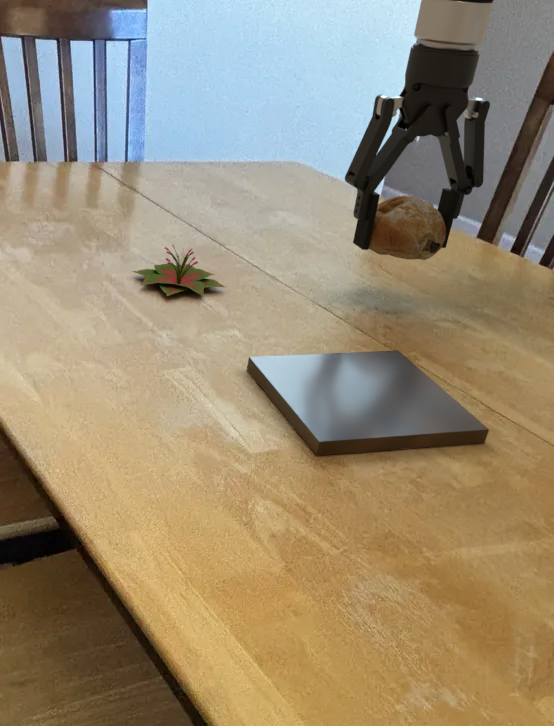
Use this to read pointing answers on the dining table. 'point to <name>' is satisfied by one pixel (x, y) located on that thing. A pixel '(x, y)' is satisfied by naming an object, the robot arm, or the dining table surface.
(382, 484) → the dining table surface
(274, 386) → the cutting board
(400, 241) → the bread roll
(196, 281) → the lily flower
